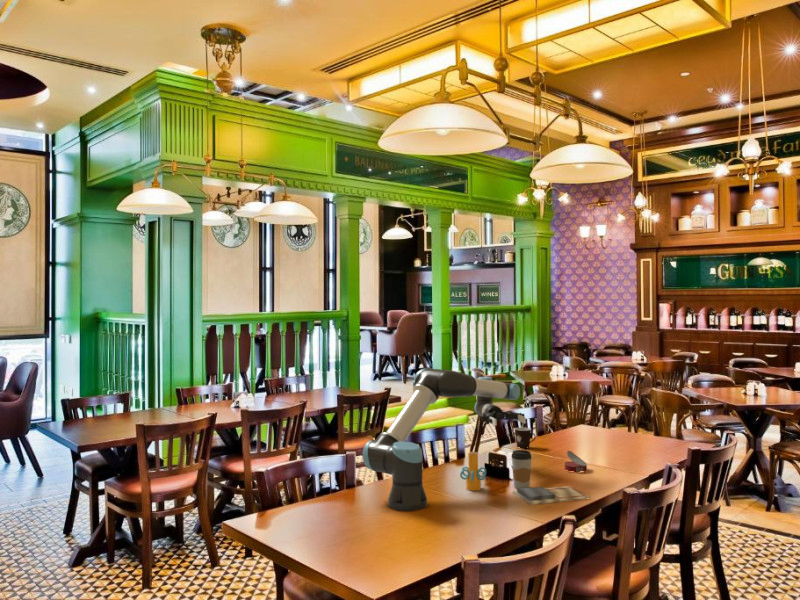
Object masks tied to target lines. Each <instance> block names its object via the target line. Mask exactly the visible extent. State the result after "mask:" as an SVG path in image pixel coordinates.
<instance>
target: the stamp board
mask: <svg viewBox="0 0 800 600" xmlns="http://www.w3.org/2000/svg"><path fill="white" fill-rule="evenodd" d="M511 493H512V494H513V495H514V496H515V497H518V498H519V499H520V500H522V502H524V503H526V504H528V505H529V506H533V505H543V504H544V505H545V504H555V503H554V502H556V503H563V502H562V501H567V502H571V501H570V500H577V499H587V498H590V499H591V496H588V495H587V494H585V493H583V492H582V491H579V490H577V489H576V488H575V487H572V486H570V485H568V486H557V487H543V486H538V487H529V488H523V489H516V490H512V492H511ZM577 501H578V500H577Z"/></svg>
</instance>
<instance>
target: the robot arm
mask: <svg viewBox="0 0 800 600" xmlns="http://www.w3.org/2000/svg"><path fill="white" fill-rule="evenodd" d="M412 390H413V393H412V394H411V396H410V397H409V399H408V400H407V402H406V403H405V404H404V406H403V407H402V408H401V410H400V412H399V413H398V414H397V416H396V417H395V418H394V420H393V421H392V423H391V424H390V425H389V427H388V428H387V430H386V432H381V433H380V434H379V435H378V436H377V438H376V439H375V440H374V439H372V440H371V439H370V440H368V441H367V442H366V443H365V445H364V446H363V449H362V461H363V463H364V466H365V467H366V468H367V469H369V470H370V471H373V472H375V473H376V472H378V473H383V474H386V475H392V479H391V480H392V485H391V490H390V492H389V495H388V499H387V502H388V503H387V505H388V507H389V508H390V509H392V510H395V511H403V512H407V511H408V512H412V511H419V510H422V509H425V508H427V507H428V498H427V494H426V491H425V489H424V485H423V472H424V471H423V462H424V461H423V460H424V458H423V450H422V447H421V446H420V445H419V444H417V443H415V442H411V441H406V440H407V439H408V438H409V437H410V435H411V433H412V431H413V430H414V429H415V427H416V426H417V424H418V423H419V421H420V419H421V418H422V416H423V415H424V414H425V413H426V411H427V409H428V408H429V407H430V405H435V403H436V402H437V401H438V400H439V398H440V397H441V398H442V397H443V398H457V397H458V398H461V397H462V398H469V397H472V396H476V402H475V404H474V406H473V407H474V411H475V413H476V414H477V415H478V416H479V417H481V423H482V424H483V423H485V422H486V425H490V424H491V425H493V426H496V427H497V422H499V421H504V420H505V421H507V420H514V421H517V422H520V423H523V424H526V422H527V420H526V416H525V413H522V412H513V411H509V410H508V411H503V409H502V408H501V407H500V406H497V405H495V404H493V403H494V402H493V398H494V399H503V400H509V401H510V400H513V401H516V400H518V399H519V398H520V395H521V388H520V386H519V385H518V384H517V383H513V382H512V383H510V382H502V381H496V380H493V377H491V376H479V377H477V378H476V377H474V376H473V375H471V374H465V373H463V372H459V371H455V370H450V369H442V368H441V369H438V368H431V367H430V368H422V369H420V370H418V371H417V372H416V373H415V375H414V378H413V381H412Z"/></svg>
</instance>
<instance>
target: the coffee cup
mask: <svg viewBox="0 0 800 600" xmlns="http://www.w3.org/2000/svg"><path fill="white" fill-rule="evenodd" d="M511 464H512V478H513V486H514V489H516V490H517V489H523V488H531V487H530V485H531V473H532V472H531V470H532V468H531V467H532V466H531V465H532V454H531V451H529V450H527V449H516V450H513V451H512V454H511Z"/></svg>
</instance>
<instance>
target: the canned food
mask: <svg viewBox="0 0 800 600" xmlns="http://www.w3.org/2000/svg"><path fill="white" fill-rule="evenodd" d="M566 455H567V457H568V459H569V460H570V461H566V462H564V470H565V469H566V470H568V471H574V472H580V471H586V470H588V469H587V468H588V467H587V466H588V465H587V462H585V460H583V459H582V458H581V457H579V456H578V455H577V454H576V453H574V452H573V451H571V450H567V452H566ZM586 472H587V471H586Z"/></svg>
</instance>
